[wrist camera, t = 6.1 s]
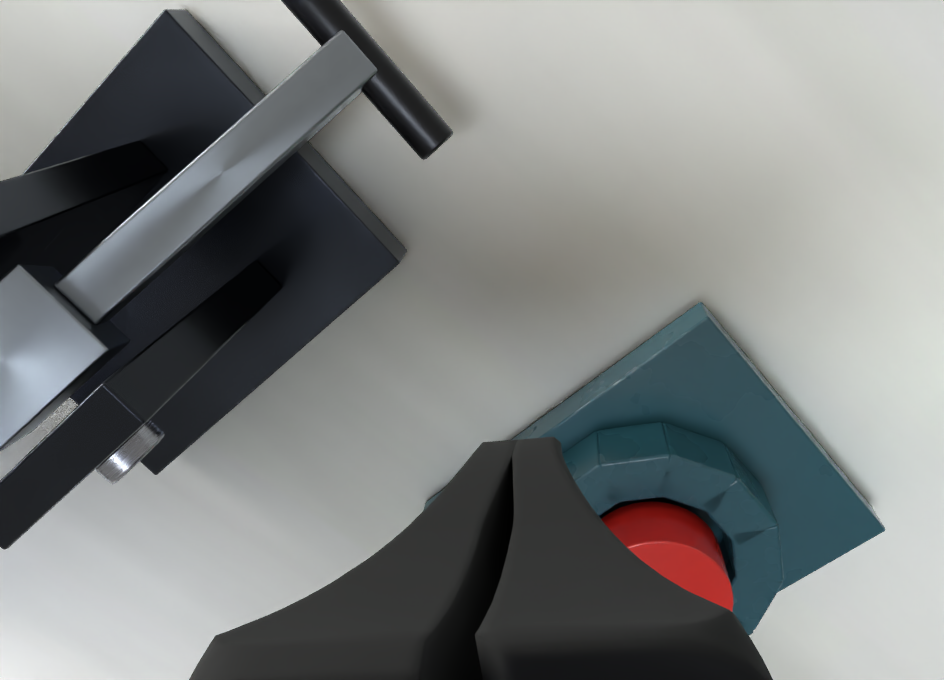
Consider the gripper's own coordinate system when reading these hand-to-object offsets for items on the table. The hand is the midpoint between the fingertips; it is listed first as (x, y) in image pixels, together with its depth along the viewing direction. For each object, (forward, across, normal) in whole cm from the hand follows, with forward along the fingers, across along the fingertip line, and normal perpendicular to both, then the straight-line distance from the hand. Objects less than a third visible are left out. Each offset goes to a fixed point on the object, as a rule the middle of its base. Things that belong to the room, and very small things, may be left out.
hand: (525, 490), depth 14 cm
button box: (+9, -2, +6) cm, 11 cm away
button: (+6, -2, +6) cm, 9 cm away
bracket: (+9, +10, -3) cm, 13 cm away
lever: (+5, +7, -4) cm, 10 cm away
